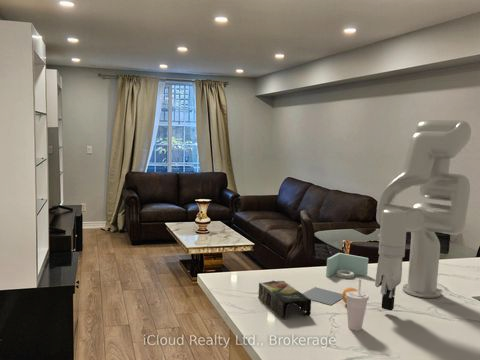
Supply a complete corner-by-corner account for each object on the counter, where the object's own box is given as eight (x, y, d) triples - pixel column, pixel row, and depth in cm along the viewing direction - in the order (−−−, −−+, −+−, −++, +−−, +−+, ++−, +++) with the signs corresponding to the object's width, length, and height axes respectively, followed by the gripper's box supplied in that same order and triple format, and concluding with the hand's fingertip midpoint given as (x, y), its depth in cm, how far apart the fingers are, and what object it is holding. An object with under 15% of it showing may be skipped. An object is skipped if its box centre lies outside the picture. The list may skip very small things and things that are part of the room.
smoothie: (367, 333, 128) (370, 284, 126) (343, 331, 129) (346, 281, 128) (365, 324, 134) (369, 277, 133) (343, 322, 135) (346, 274, 134)
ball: (345, 286, 153) (360, 285, 150) (348, 303, 153) (364, 302, 149) (337, 289, 149) (353, 288, 146) (340, 307, 148) (356, 306, 145)
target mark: (315, 287, 165) (315, 287, 165) (346, 295, 158) (346, 295, 158) (297, 296, 155) (297, 295, 155) (330, 305, 148) (330, 304, 148)
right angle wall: (325, 278, 178) (327, 258, 178) (337, 270, 188) (338, 252, 188) (356, 284, 172) (357, 264, 171) (367, 276, 182) (368, 258, 181)
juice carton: (255, 297, 154) (256, 279, 153) (282, 295, 157) (283, 277, 157) (281, 322, 135) (283, 301, 134) (311, 318, 139) (313, 298, 138)
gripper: (388, 243, 149) (384, 299, 151) (370, 252, 138) (366, 312, 139) (412, 248, 145) (407, 305, 147) (395, 257, 133) (390, 319, 135)
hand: (387, 308), depth 143 cm, fingers closed
